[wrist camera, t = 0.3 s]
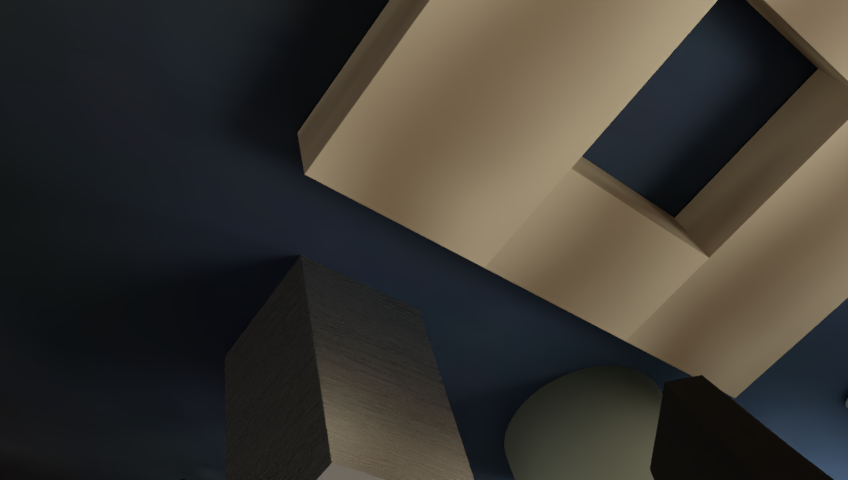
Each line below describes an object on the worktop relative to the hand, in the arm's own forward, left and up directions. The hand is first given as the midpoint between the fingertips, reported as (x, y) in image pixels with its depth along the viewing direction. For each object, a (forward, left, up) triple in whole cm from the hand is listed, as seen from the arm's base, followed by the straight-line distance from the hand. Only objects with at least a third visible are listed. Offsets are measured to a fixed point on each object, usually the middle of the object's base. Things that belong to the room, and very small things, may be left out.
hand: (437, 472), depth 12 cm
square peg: (-2, +5, -10) cm, 11 cm away
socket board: (-6, -6, -10) cm, 13 cm away
